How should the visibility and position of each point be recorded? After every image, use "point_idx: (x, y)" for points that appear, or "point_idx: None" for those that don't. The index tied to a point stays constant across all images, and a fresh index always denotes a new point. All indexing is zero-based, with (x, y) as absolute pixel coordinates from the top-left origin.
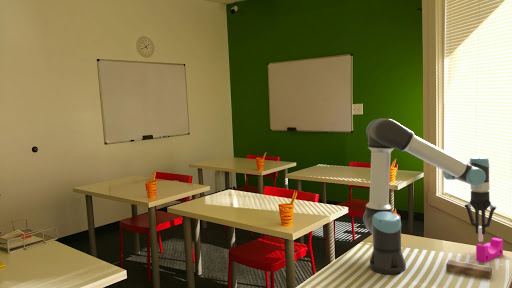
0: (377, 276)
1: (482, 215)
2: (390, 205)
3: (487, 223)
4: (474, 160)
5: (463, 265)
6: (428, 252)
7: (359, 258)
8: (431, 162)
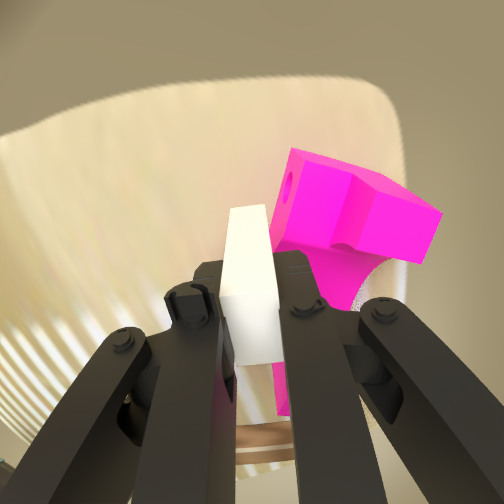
0: None
1: None
2: None
3: (379, 405)
4: None
5: (267, 458)
6: (66, 352)
7: (34, 437)
8: None
